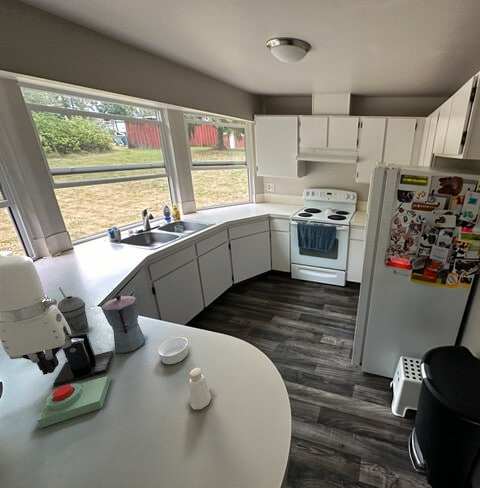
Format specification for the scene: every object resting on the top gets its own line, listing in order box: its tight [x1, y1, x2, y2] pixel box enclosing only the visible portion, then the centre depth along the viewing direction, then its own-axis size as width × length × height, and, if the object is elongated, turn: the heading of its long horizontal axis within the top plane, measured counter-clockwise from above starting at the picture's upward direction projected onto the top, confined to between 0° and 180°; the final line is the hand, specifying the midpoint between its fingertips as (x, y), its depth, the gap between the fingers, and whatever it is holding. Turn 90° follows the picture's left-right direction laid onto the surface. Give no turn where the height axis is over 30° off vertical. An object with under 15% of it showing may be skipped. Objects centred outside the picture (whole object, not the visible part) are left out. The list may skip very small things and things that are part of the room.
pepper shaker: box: [188, 367, 212, 410], centre depth 69 cm, size 5×5×11 cm
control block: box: [36, 375, 111, 429], centre depth 68 cm, size 12×9×4 cm
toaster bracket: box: [52, 332, 114, 388], centre depth 78 cm, size 12×9×12 cm
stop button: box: [51, 384, 73, 401], centre depth 66 cm, size 4×4×2 cm
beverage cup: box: [57, 286, 90, 335], centre depth 91 cm, size 7×7×20 cm
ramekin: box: [157, 336, 189, 365], centre depth 85 cm, size 9×9×4 cm
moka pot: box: [100, 294, 146, 354], centre depth 86 cm, size 10×15×20 cm, turn 44°
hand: (51, 369), depth 64 cm, fingers closed
